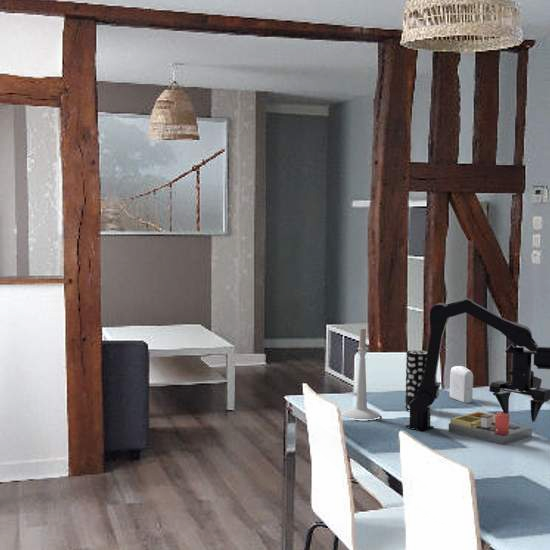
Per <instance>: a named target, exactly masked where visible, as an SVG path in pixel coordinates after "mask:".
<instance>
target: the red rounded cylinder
mask: <svg viewBox="0 0 550 550" xmlns="http://www.w3.org/2000/svg"><path fill="white" fill-rule="evenodd" d="M509 423H510V414H509V413H508V414H506V413H496V416H495V433H496V434H499V435H508V434H509Z"/></svg>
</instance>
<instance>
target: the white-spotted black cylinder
mask: <svg viewBox="0 0 550 550" xmlns="http://www.w3.org/2000/svg"><path fill="white" fill-rule="evenodd" d="M427 352H428V350H427V351H425V350H408V351H406V355H405V356H406V357H405V358H406V359H405V360H406V362H405V365H406V366H405V400H404V402H405V406H404V409H405V408H406V409H407V410H410V407H409V404H410V402H411V401H412V400H413V398H414V397H416V394H417V391H418V389H419V386H420V383H421V381H422V378H423V376H424V370H425V364H426V358H427ZM428 407H429V408H430V409H431V405H430V406H428Z"/></svg>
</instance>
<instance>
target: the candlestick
mask: <svg viewBox="0 0 550 550" xmlns="http://www.w3.org/2000/svg"><path fill="white" fill-rule="evenodd" d="M366 339H367V328H366V327H360V328H359V347H357V350H358V355H359V359H358V360H359V361H358V375H357V376H358V377H357V389H356V401H355V402H356V403H355V407H352V408H349V409H346V410H345V411H343V412H342V414H341V417H342V416H344V417H347V418H354V419H374V418H378V417H380V416H382V415H381V414H380V413H379V412H378V411H377V410H374V409H372V408H369V407H368V406H367V405H368V404H367V403H368V401H367V377H366V376H367V374H366V358H365V357H366V354H367V350H368V349H369V348H368V347H367V346H366V345H367V342H366V341H367V340H366Z"/></svg>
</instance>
